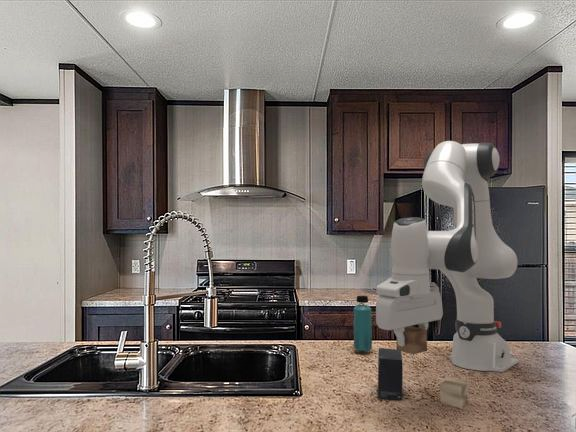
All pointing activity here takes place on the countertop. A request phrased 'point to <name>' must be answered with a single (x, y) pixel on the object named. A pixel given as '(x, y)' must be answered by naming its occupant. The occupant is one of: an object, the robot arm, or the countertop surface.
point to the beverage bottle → (362, 325)
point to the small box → (390, 374)
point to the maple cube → (453, 393)
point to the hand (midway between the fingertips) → (411, 343)
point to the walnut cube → (414, 340)
